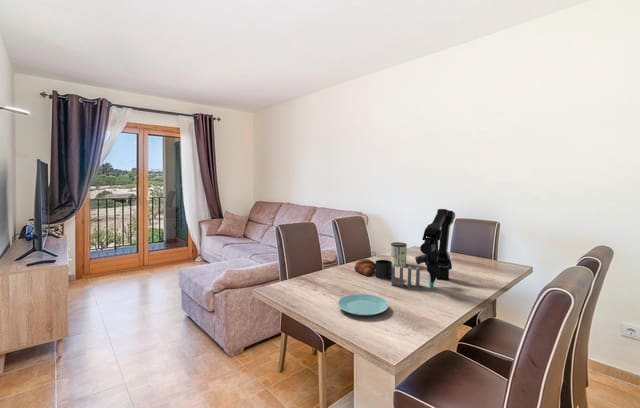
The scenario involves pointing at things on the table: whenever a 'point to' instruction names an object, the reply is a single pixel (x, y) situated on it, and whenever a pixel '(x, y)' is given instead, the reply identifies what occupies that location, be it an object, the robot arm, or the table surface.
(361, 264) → the pastry
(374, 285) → the table surface
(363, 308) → the plate
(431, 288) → the domino
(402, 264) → the coffee can
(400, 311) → the table surface
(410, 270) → the domino
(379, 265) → the mug
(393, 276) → the domino
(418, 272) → the domino
